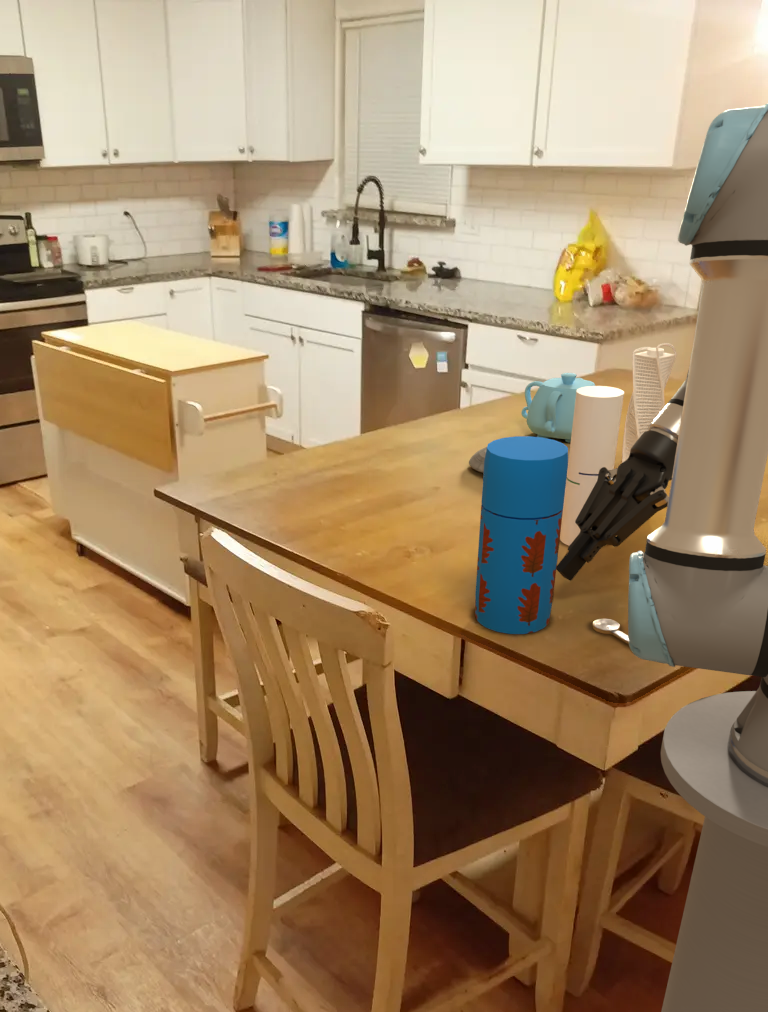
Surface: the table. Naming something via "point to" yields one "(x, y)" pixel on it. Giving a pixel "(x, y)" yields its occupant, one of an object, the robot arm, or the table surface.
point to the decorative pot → (553, 406)
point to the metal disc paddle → (610, 628)
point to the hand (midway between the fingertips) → (563, 574)
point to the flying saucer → (478, 460)
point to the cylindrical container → (589, 449)
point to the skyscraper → (646, 392)
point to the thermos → (519, 532)
